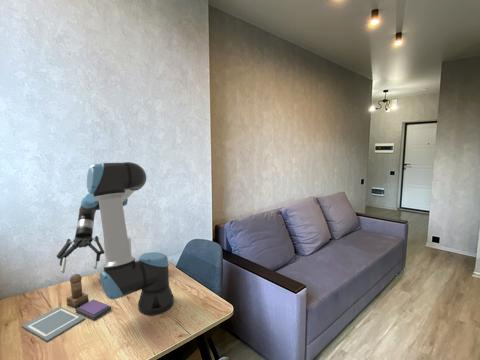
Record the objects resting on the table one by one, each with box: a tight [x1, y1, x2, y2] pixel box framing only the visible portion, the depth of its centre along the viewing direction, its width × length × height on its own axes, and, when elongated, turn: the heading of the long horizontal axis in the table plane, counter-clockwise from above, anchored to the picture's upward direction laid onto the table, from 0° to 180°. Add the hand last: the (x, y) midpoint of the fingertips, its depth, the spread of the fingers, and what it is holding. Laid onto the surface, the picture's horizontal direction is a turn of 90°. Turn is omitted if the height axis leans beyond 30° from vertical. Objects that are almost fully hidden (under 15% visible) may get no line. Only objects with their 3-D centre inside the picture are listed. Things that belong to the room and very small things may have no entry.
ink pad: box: [75, 299, 112, 322], centre depth 111 cm, size 12×8×2 cm, turn 63°
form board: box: [21, 306, 86, 343], centre depth 104 cm, size 18×14×1 cm
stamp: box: [66, 273, 90, 310], centre depth 117 cm, size 6×6×14 cm
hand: (79, 270), depth 123 cm, fingers open, 13 cm apart
